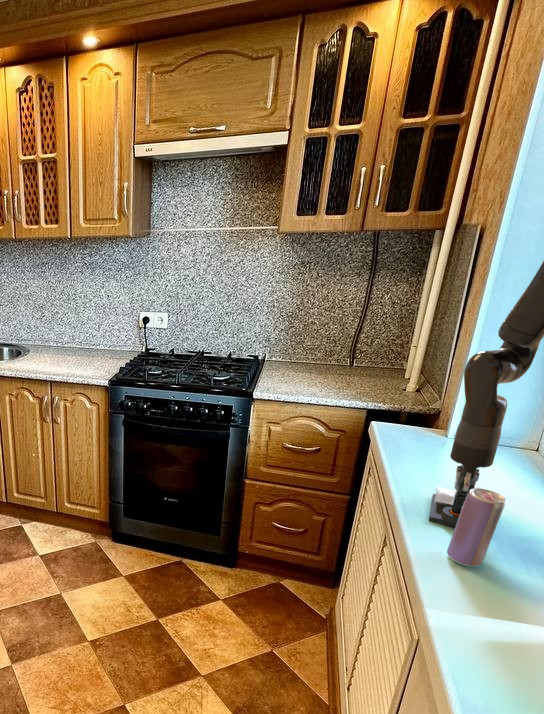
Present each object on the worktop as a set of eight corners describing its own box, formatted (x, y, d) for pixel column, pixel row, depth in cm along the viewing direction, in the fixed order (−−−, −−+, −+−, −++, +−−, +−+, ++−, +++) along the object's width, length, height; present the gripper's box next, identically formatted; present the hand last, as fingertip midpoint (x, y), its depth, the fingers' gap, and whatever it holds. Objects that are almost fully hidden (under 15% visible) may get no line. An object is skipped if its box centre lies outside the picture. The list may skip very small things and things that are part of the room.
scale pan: (436, 488, 131) (437, 486, 131) (481, 497, 126) (482, 495, 126) (434, 502, 124) (435, 500, 124) (482, 512, 119) (482, 511, 119)
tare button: (449, 514, 122) (450, 508, 121) (464, 517, 120) (465, 511, 120) (448, 519, 120) (450, 513, 119) (463, 522, 118) (465, 516, 118)
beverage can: (453, 565, 105) (477, 500, 100) (441, 548, 111) (463, 485, 105) (487, 570, 104) (513, 504, 98) (473, 553, 110) (497, 489, 104)
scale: (431, 498, 132) (434, 487, 131) (481, 508, 127) (484, 497, 126) (428, 523, 121) (430, 512, 120) (482, 536, 116) (485, 524, 115)
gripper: (499, 455, 106) (477, 529, 112) (496, 435, 116) (477, 505, 122) (453, 447, 111) (435, 519, 117) (455, 429, 121) (438, 496, 127)
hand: (457, 512), depth 120 cm, fingers closed
